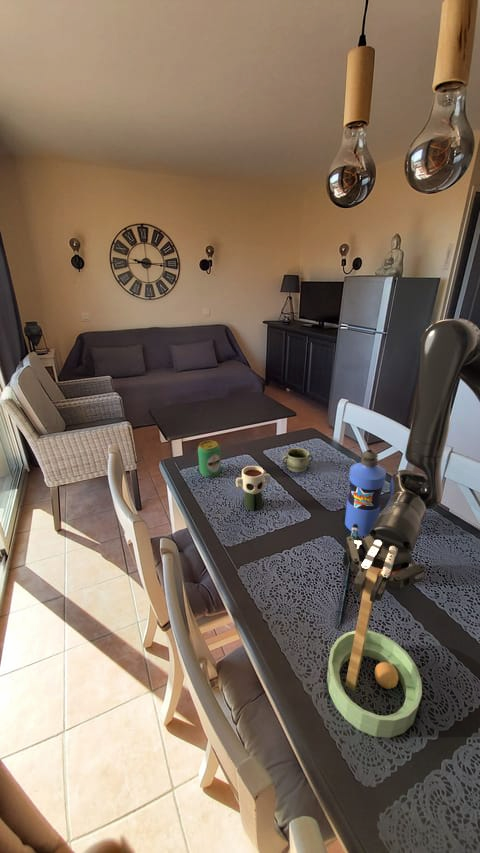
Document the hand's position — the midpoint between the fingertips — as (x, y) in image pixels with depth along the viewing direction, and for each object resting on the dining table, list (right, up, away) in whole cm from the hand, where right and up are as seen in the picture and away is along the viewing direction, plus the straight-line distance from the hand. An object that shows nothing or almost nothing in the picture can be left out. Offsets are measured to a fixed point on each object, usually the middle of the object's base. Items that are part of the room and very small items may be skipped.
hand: (365, 594), depth 55 cm
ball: (+6, -19, +9) cm, 22 cm away
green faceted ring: (+5, -23, +11) cm, 26 cm away
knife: (+7, -12, +35) cm, 37 cm away
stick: (0, -20, +9) cm, 22 cm away
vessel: (+3, +10, +84) cm, 85 cm away
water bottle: (+17, -4, +52) cm, 55 cm away
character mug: (-15, -1, +63) cm, 64 cm away
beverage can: (-30, +8, +82) cm, 88 cm away
